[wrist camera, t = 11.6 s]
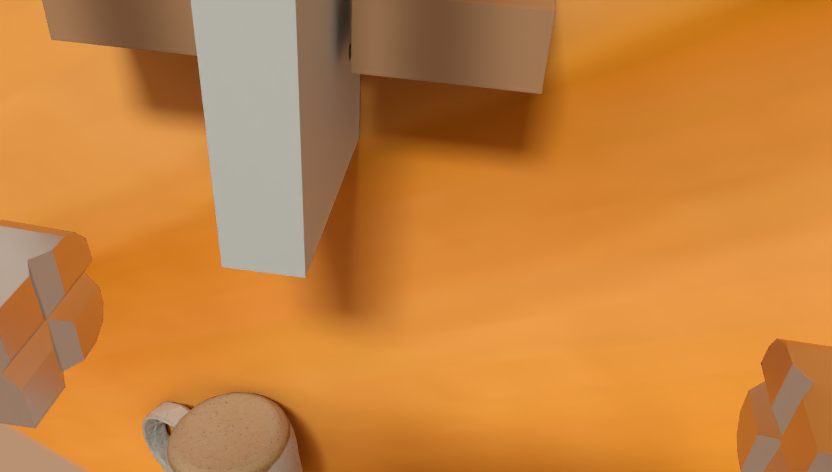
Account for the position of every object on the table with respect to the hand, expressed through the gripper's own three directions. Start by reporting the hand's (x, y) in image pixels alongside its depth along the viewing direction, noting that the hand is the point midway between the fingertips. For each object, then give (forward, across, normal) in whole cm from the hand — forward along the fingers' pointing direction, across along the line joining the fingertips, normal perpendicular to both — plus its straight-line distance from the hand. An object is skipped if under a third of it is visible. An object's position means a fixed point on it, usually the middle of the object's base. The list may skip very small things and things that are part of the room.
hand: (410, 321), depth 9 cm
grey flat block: (+23, +8, +4) cm, 25 cm away
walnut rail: (+23, +8, +4) cm, 25 cm away
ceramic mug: (+23, +14, +33) cm, 43 cm away
